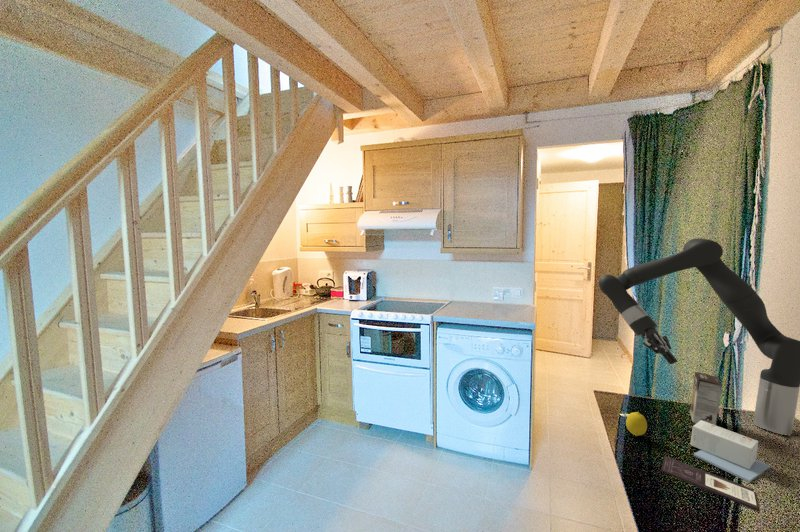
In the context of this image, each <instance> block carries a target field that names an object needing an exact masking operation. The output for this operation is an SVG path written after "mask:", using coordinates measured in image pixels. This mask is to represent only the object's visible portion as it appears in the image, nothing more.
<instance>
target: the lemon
mask: <svg viewBox="0 0 800 532" xmlns="http://www.w3.org/2000/svg"><path fill="white" fill-rule="evenodd" d="M625 425H626V429H627V430H628V432H630V433H631V434H632V436H634V435H635V436H634V437H638V436H644V435H645V434H646V432H647V429H648V423H647V419H646V417H645V416H644V415H643V414H641V413H640V412H639V411H635V412H633V411H632V412H630V413H629V414H628V415H627V417H626V420H625Z"/></svg>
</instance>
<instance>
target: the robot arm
mask: <svg viewBox="0 0 800 532" xmlns="http://www.w3.org/2000/svg"><path fill="white" fill-rule="evenodd" d="M723 254H724V250H723V247H722V246H721V244H720V243H719V242H717V241H715V240H712V239H708V238H702V237H701V238H699V237H697V238H693V239H690V240H687V241H686V243H684V245H683V248H682V251H680V252H678V253H675V254H673V255H669V256H666V257H663V258H658V259H655V260H650V261H646V262H643V263H640V264H638V265H635V266H632V267H630V268H627V269H625V270H624V271H622V272H621V274H619V275H616V276H614V275H611V274H604V275H601V277H599V279H598V287H599V289H600V291H601V293H602V294H603V295H605V296H606V297H608V299H609V300H610V302H611V303H612V304H613V306H614V308H615V309H616V310H617V312H618V313H619V314H620V316H621V317H622V318H623V320H624V321H625V323H626V324H627V326H629V328H630V330H631V331H632V332H633V333H634V334H635V335H636V336H638V337H640V336H641V337H642V338H643V340H644V341H642V345H644V346H645V347H647V348H648V349H649V350H651V351H652V352H654V353H655V354H657V355H660V356H662V357H663V358H664V360H666V362H667V363H668V364H670V365H674V364H676V363H677V362H678V359H677V358H676V357H675V356H674V355H673V354H672V352H671V349H672V346H671V343H670V341H669V339H668V337H667V336H666V335H664V336H662V334H661V333H660V332H659V331H657V329H656V328H657V327H658V324H657V323H656V322H655V320H653V319H652V317H651V316H650V315H649V313H647V312H646V310H645V309H644V308H642V306H641V305H640V304H639V303H638V302H637V301H636V300H635V299H634V298H633V296H631V295H630V293H629V292H628V290H630V289H631V288H633V287H636V286H638V285H641V284H644V283H647V282H651V281H653V280H656V279H658V278H661V277H665V276H667V275H670V274H674V273H676V272H680V271H684V270H688V269H693V268H695V269H696V270H698V272H699V273H701V275H702V276H703V277H704V278H705V280H706V281H707V283H708V284H709V285H710V287H711V289H712V290H713V291H714V292H715V294H716V295H717V296H718V298H719V299H720V301H722V303H723V304H724V305H725V307H726V308H727V309H728V310H729V311H730V312H731V314H733V316H734V318H736V320H737V321H738V322H739V323H740V324H741V325H742V326H743V327H744V328H745V330H746V331H747V332H748V334H749V335H750V337H751V339H752V340H753V342H754V343H755V345H756V347H757V348H758V349H759V351H760V352H761V354H763V356H765V357H766V358H768V359H771V364H770V367H769V368H764V369H762V370H761V371H760V375H759V381H758V390H757V395H756V401H755V402H756V403H755V409H754V414H753V422H752V423H754V424H755V425H756V427H757V426H758V427H757V428H759V427H760V428H759V429H761V428H763V429H766V430H770V431H773V432H776V433H780V434H786V435H789V434H792V435H793V431H794V430H793V429H794V423H795V418H796V411H797V406H798V400H799V392H800V340H797V339H795V338H792V337H789V336H786V335H784V334H783V333H782V332H781V331H780V330H779V329H778V328H777V327H776V326H775V325H774V324H773V323H772V321H771V320H770V319H769V316H768V313H767V309H766V305H765V303H764V301H763V299H762V298H761V297H760V296H759V294H758V293H757V292H756V290H755V289H754V288H753V287H752V286H751V285H750V284H748V282H746V280H744V279H743V277H741V276H740V275H739V274H737V273H736V272H734V271H733V270H732V269H730V268H729V266H727V265H726V263H725V262H724V261H723V260H722V256H723ZM754 424H753V425H754ZM763 429H762V430H763Z"/></svg>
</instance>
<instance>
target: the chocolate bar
mask: <svg viewBox="0 0 800 532" xmlns="http://www.w3.org/2000/svg"><path fill="white" fill-rule="evenodd" d="M661 464H662V465H661V469H660V472H661V471H662V472H661V473H663V472H664V473H663V474H665V473H666V475H668V474H669V475H668V476H670V475H671V477H673V478H675V479H678V480H680V481H682V482H685V483H688V484H690V485H692V486H695V487H698V488H700V489H703V490H705V491H707V492H710V493H712V494H715V495H717V494H718V495H717V496H719V495H721V496H720V497H722V496H724V497H726V498H725V499H727V498H728V499H727V500H729V499H730V500H729V501H731V500H732V502H733V503H734V502H735V503H736V502H737V503H736V504H738V505H741V506H743V507H746V508H749V509H751V508H752V509H751V510H754V511H756V510H757V511H758V506H757V501H756V496H755V492H754V489H753V488H751V487H748V486H746V485H743V484H741V483H738V482H735V481H733V480H730V479H727V478H724V477H723V476H719V475H717V474H714V473H711V472H708V471H706V470H704V469H701V468H698V467H696V466H694V465H690V464H687V463H686V462H683V461H680V460H677V459H675V458H672V457H669V456H666V455H663V459H662V463H661ZM724 497H723V498H724Z"/></svg>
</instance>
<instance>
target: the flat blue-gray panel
mask: <svg viewBox="0 0 800 532" xmlns="http://www.w3.org/2000/svg"><path fill="white" fill-rule="evenodd" d="M693 456H694V457H695V458H698V459H700V460H702V461H704V462H706V463H709V464H711V465H712V466H715V467H716V468H718V469H721V470H723V471H725V472H727V473H729V474H731V475H732V476H735V477H737V478H739V479H741V480H743V481H745V482H748V483H751V482H752V481H753V480H755V479H757V478H758V477H760V476H761V475H762V474H763V473H765V472H766V471H768V470H769V469H770V468H771V465H770V464H767V463H765V462H762V461H760V460H759V459H756V461H755V462H754V463H753V465H752V466H751V468H750V469H746V468H744V467H742V466H739V465H737V464H734V463H732V462H730V461H727V460H725V459H722V458H720V457H718V456H715V455H713V454H710V453H708V452H706V451H703V450H701V449H699V450H698V451H695V452H694V453H693ZM768 468H769V469H768ZM767 469H768V470H767ZM765 470H766V471H765ZM764 471H765V472H764Z"/></svg>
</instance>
